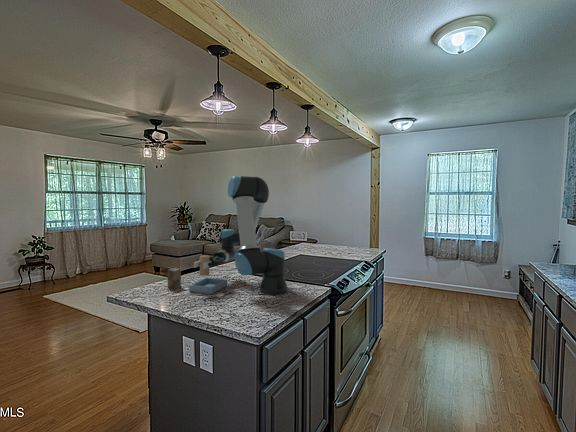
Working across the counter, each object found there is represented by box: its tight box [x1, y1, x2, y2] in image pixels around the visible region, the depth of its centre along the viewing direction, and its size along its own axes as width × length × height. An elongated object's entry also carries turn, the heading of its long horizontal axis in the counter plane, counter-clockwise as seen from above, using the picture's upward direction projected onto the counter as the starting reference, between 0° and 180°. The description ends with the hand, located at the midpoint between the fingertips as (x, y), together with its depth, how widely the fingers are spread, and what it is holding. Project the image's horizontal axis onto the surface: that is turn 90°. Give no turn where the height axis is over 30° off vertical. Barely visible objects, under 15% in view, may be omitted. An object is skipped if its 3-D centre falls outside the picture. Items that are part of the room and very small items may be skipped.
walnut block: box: [167, 267, 182, 289], centre depth 178 cm, size 5×5×10 cm
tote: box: [188, 277, 228, 295], centre depth 176 cm, size 14×18×4 cm
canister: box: [199, 254, 211, 277], centre depth 171 cm, size 5×5×10 cm
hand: (199, 265), depth 166 cm, fingers closed on canister, 5 cm apart
